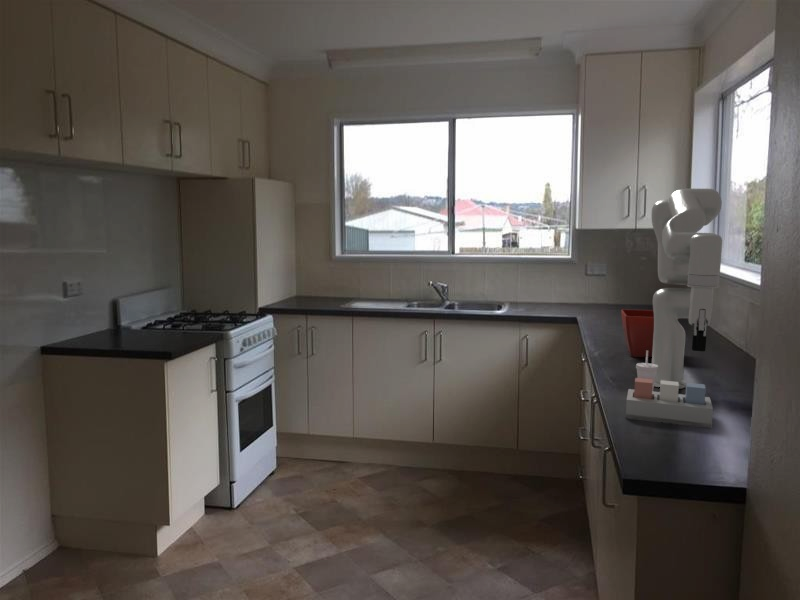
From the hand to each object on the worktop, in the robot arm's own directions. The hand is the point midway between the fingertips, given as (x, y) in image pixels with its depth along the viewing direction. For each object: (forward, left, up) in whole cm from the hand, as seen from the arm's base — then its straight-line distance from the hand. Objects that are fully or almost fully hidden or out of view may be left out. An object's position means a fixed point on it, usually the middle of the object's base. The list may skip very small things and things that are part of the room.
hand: (698, 350), depth 171 cm
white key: (0, -6, -14) cm, 16 cm away
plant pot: (-86, -14, -19) cm, 89 cm away
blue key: (0, 0, -14) cm, 14 cm away
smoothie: (-20, -13, -19) cm, 30 cm away
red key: (0, -13, -14) cm, 19 cm away
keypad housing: (0, -7, -19) cm, 20 cm away
